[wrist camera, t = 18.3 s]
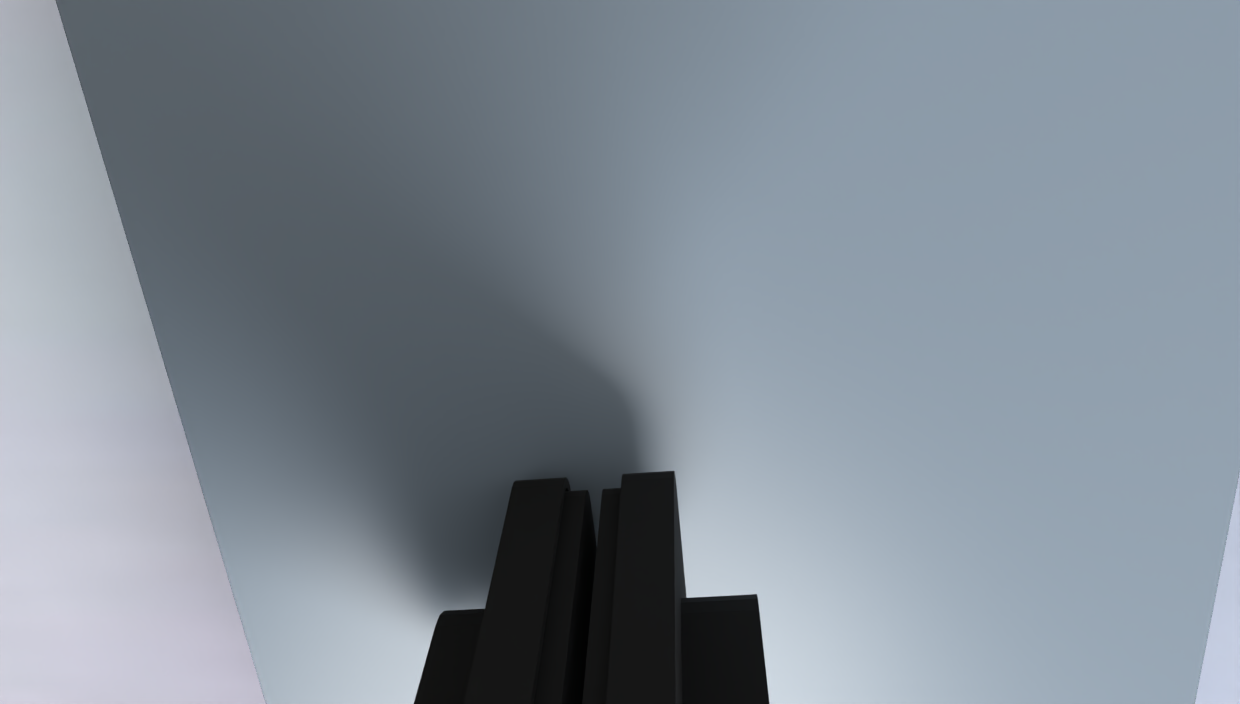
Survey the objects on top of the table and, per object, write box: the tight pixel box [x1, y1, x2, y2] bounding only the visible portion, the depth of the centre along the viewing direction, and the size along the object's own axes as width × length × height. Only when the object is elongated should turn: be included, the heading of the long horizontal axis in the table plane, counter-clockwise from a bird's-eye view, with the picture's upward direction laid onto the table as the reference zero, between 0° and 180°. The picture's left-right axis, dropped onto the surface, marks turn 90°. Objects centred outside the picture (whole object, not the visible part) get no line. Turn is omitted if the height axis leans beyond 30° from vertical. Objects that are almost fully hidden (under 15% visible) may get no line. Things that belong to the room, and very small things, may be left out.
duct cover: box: [56, 0, 1240, 704], centre depth 13 cm, size 12×22×1 cm, turn 5°
